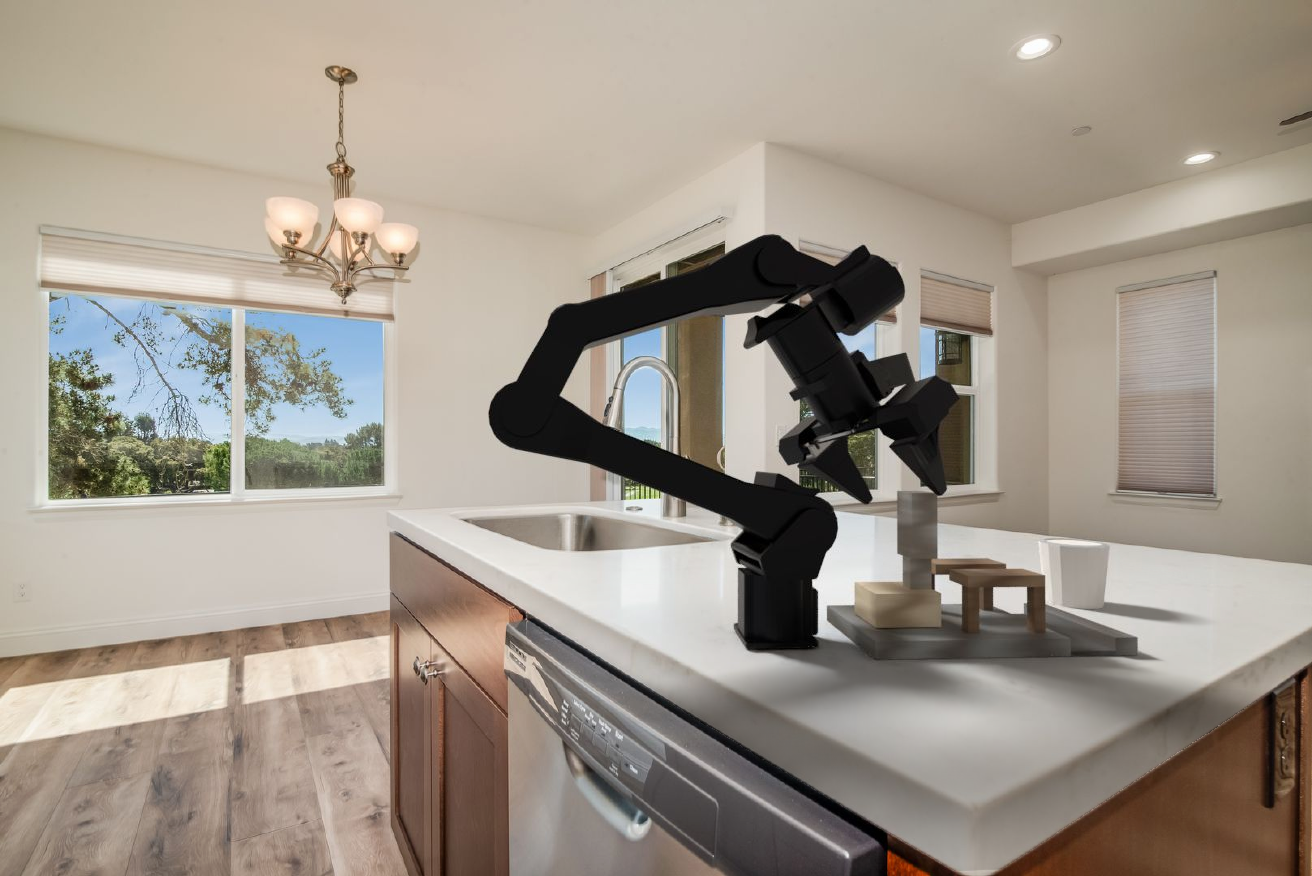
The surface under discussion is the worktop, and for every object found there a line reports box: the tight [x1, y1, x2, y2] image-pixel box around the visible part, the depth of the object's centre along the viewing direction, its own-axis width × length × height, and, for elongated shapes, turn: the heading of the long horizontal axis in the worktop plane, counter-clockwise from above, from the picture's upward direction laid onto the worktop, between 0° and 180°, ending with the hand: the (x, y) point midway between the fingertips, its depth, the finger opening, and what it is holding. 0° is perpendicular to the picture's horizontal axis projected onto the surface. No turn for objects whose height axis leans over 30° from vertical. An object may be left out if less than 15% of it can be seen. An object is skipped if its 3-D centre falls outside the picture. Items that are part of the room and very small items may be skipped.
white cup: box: [1037, 537, 1111, 610], centre depth 72 cm, size 7×7×7 cm
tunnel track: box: [826, 557, 1139, 660], centre depth 59 cm, size 23×12×6 cm, turn 94°
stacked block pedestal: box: [854, 490, 942, 628], centre depth 58 cm, size 6×5×12 cm
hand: (903, 497), depth 60 cm, fingers open, 9 cm apart
